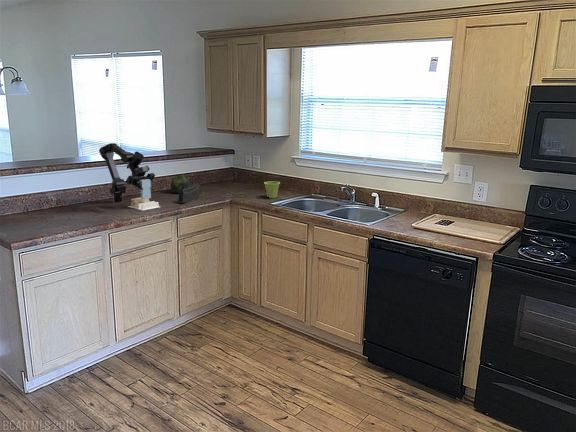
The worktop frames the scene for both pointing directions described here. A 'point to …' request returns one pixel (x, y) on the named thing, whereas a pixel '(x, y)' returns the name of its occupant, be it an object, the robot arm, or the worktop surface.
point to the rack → (146, 205)
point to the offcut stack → (138, 201)
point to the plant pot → (272, 189)
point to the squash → (179, 183)
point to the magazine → (189, 193)
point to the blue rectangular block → (145, 189)
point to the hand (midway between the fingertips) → (146, 188)
